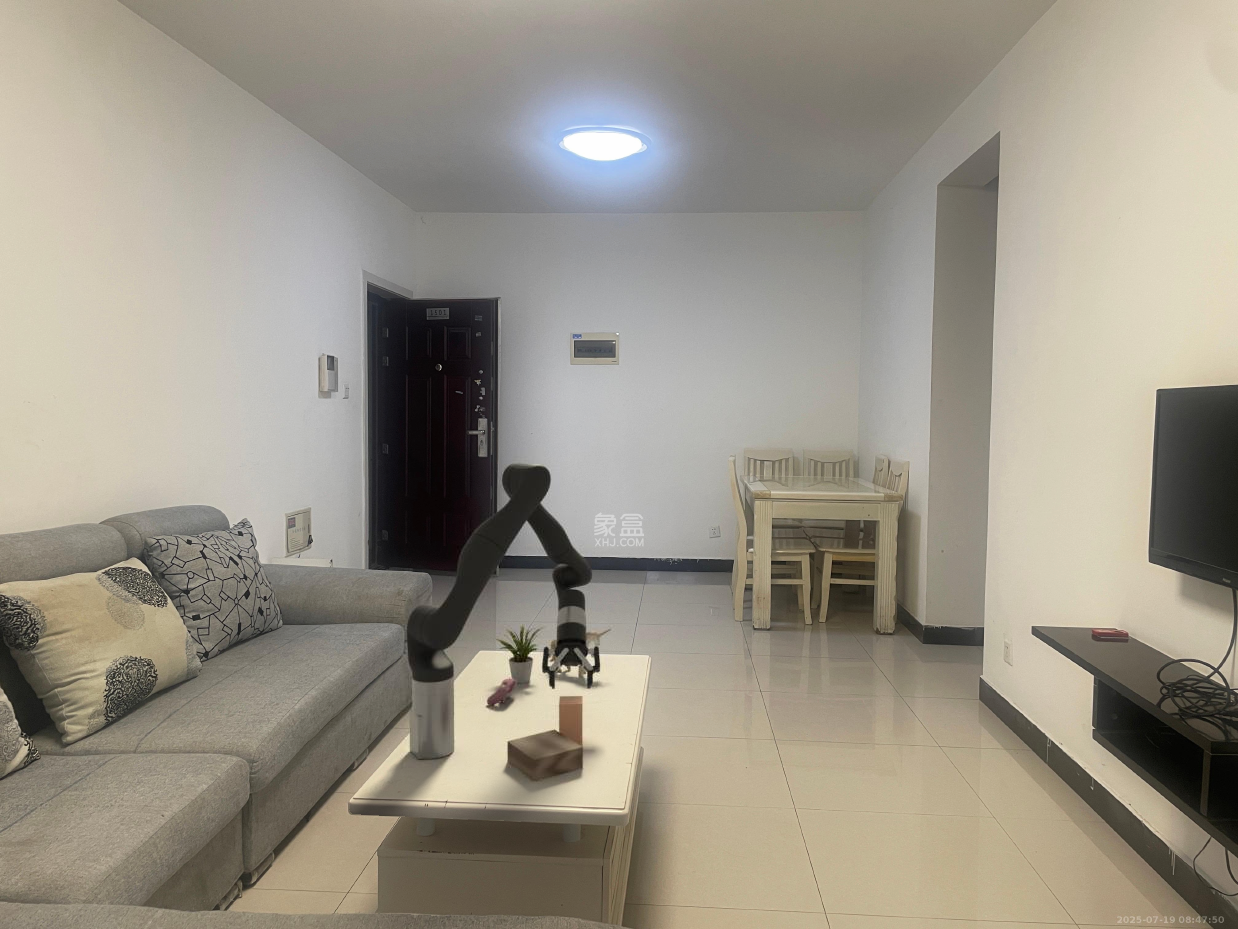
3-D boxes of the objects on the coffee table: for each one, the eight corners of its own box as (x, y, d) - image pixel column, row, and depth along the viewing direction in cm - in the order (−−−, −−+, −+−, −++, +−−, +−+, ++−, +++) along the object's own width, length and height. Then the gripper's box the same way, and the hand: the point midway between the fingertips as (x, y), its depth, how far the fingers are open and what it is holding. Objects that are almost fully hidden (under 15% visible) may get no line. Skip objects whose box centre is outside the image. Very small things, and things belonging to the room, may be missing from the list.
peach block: (559, 746, 183) (559, 704, 183) (559, 737, 188) (559, 696, 188) (582, 746, 183) (582, 704, 183) (582, 737, 189) (582, 696, 188)
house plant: (532, 668, 242) (532, 615, 241) (557, 680, 231) (557, 624, 230) (490, 677, 233) (490, 622, 233) (514, 690, 222) (514, 632, 222)
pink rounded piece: (499, 712, 209) (510, 690, 208) (484, 704, 210) (495, 681, 209) (511, 700, 219) (522, 678, 218) (497, 691, 220) (508, 670, 219)
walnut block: (534, 783, 165) (534, 760, 165) (507, 763, 175) (507, 741, 175) (582, 769, 172) (582, 746, 172) (554, 751, 182) (554, 729, 181)
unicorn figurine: (604, 679, 232) (605, 634, 231) (542, 674, 237) (542, 629, 236) (611, 672, 239) (611, 628, 238) (550, 667, 244) (550, 624, 243)
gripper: (543, 621, 199) (540, 680, 188) (599, 620, 200) (600, 679, 189) (544, 636, 205) (542, 695, 194) (599, 635, 206) (600, 694, 195)
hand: (571, 687), depth 192 cm, fingers open, 8 cm apart
